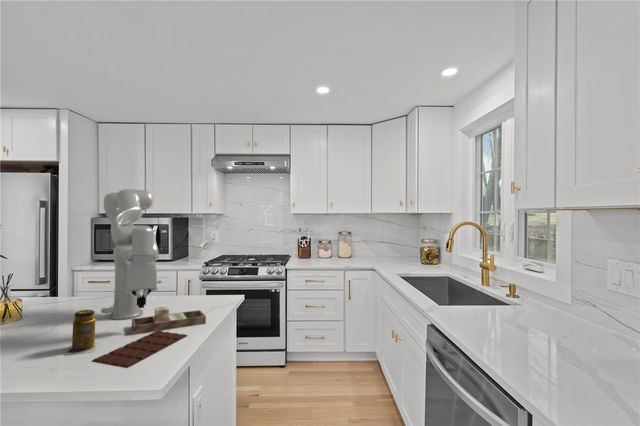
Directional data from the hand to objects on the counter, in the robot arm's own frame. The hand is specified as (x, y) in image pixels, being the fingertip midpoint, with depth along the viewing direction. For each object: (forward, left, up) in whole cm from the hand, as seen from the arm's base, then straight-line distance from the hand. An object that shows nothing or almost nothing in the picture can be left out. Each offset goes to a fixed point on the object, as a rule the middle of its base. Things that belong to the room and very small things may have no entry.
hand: (141, 307), depth 125 cm
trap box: (+10, +1, -9) cm, 14 cm away
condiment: (-18, -10, -9) cm, 22 cm away
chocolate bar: (0, -19, -9) cm, 21 cm away
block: (+7, +1, -6) cm, 9 cm away
